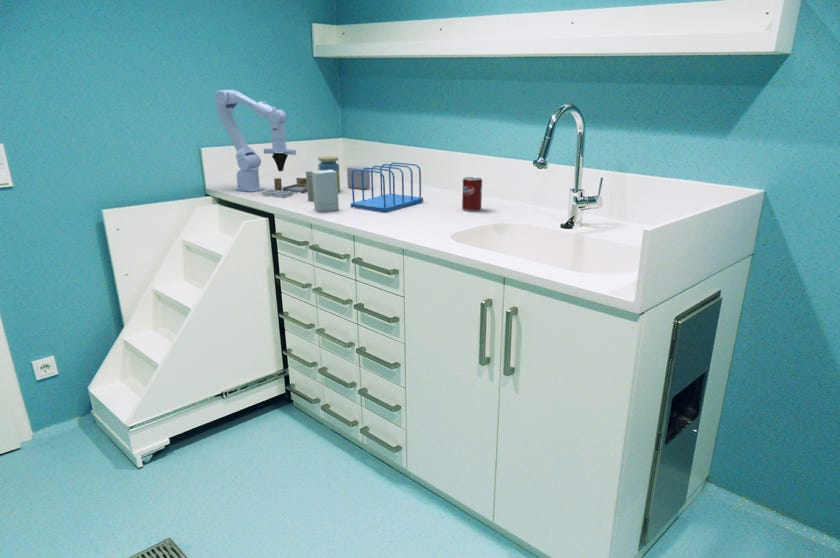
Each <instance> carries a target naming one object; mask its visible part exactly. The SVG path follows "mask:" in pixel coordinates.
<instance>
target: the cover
mask: <svg viewBox="0 0 840 558" xmlns="http://www.w3.org/2000/svg"><path fill="white" fill-rule="evenodd" d="M295 179H296V180H295V181H296V184H297V185H300V186H304V187H307V181H306V177H296V178H295Z"/></svg>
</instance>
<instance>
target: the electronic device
mask: <svg viewBox="0 0 840 558" xmlns="http://www.w3.org/2000/svg"><path fill="white" fill-rule="evenodd" d="M366 167H368V166H365V165H355V164H353V165H349V166H347V169H346V171H347V172H346V173H347V187H348V188H349V187H350V188H349V189H352V178H351V174H352V171H353V170H355V169H361V170H363V169H364V168H366ZM365 170H371V169H365ZM363 181H364V190H367V189H366V188H368V189H369V188H370V187H371V172H366V171H364V172H363ZM353 183H354V189H355V188H359V189H358V190H362V171H355V172H354V173H353Z"/></svg>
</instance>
